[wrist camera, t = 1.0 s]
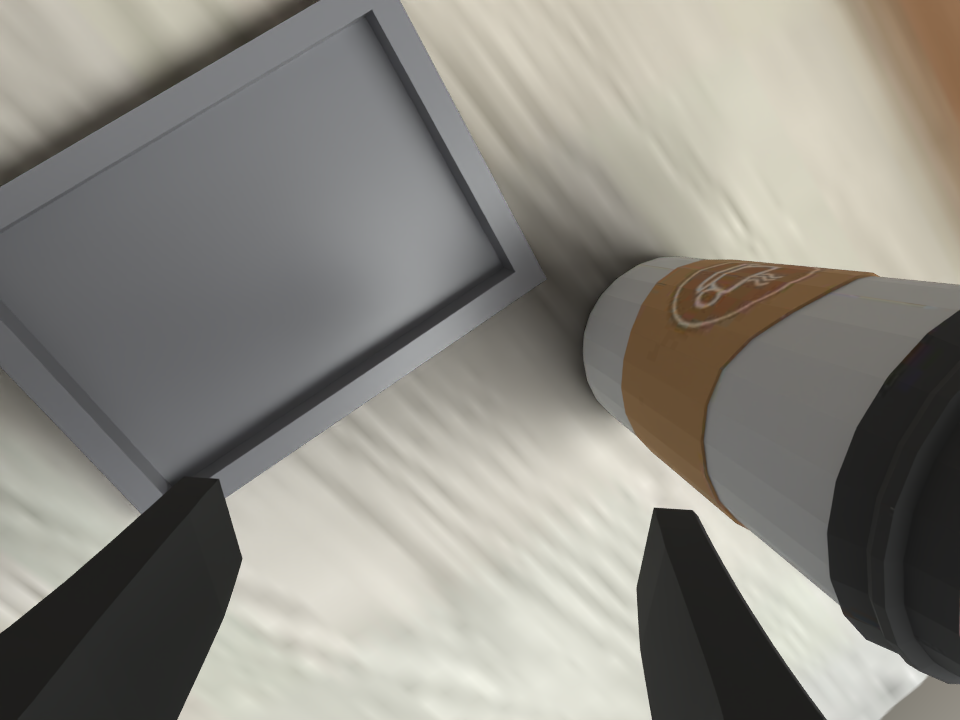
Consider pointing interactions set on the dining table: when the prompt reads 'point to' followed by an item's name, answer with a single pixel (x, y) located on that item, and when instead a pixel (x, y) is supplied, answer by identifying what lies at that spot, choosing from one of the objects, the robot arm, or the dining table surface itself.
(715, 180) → the dining table surface
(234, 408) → the tray
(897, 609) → the coffee cup
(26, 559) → the dining table surface
